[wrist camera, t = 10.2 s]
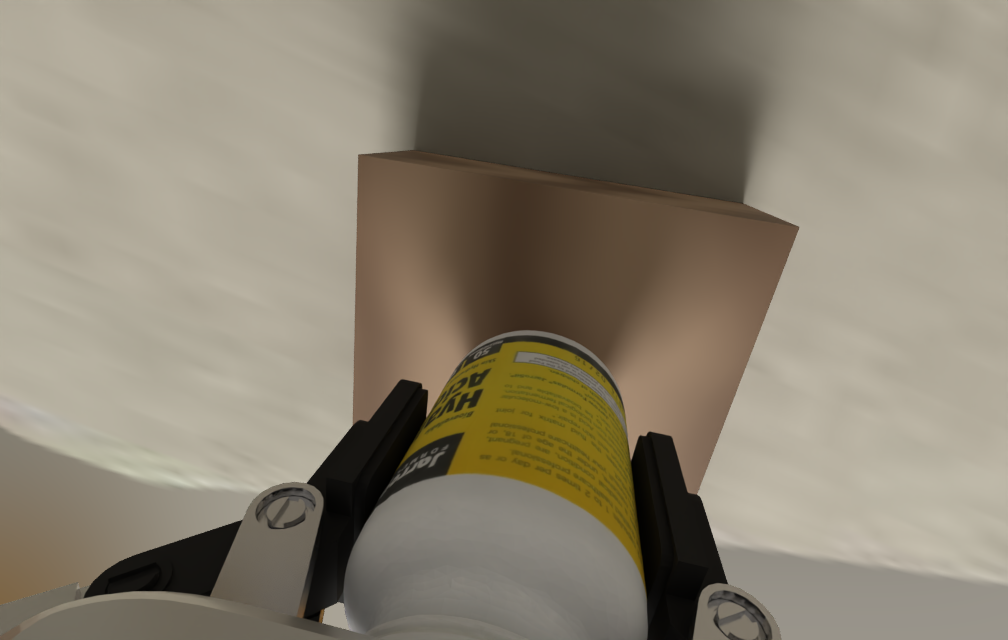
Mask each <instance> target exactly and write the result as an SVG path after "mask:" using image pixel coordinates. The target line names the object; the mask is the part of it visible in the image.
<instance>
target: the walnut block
mask: <svg viewBox="0 0 1008 640" xmlns="http://www.w3.org/2000/svg"><path fill="white" fill-rule="evenodd" d="M798 230H799V227H798V226H796V225H793V224H791V223H788V222H786V221H784V220H781V219H779V218H777V217H774V216H772V215H769V214H767V213H765V212H762V211H760V210H758V209H755V208H753V207H750V206H748V205H746V204H743V203H737V202H730V201H724V200H718V199H712V198H706V197H699V196H693V195H687V194H681V193H675V192H669V191H662V190H656V189H650V188H644V187H638V186H631V185H625V184H619V183H613V182H607V181H600V180H594V179H588V178H582V177H576V176H569V175H563V174H557V173H551V172H545V171H539V170H532V169H526V168H520V167H514V166H508V165H501V164H495V163H489V162H483V161H477V160H470V159H464V158H458V157H452V156H446V155H440V154H433V153H427V152H421V151H415V150H410V151H398V152H385V153H373V154H361V155H358V198H357V246H356V294H355V342H354V390H353V425H354V424H355V423H356V422H357V421H358V420H364V421H369V420H370V419H371V417H372V416H373V415H374V414H375V412H376V411H377V410H378V408H379V407H380V406H381V404H382V403H383V402H384V400H385V399H386V398H387V396H388V395H389V394H390V392H391V391H392V390H393V389H394V387H395V386H396V385H397V383H398V382H399V381H400V380H401V379H405V380H409V381H414V382H419V383H422V387H423V388H422V389H426V390H428V404H427V415H426V418H427V416H428V415H429V413H430V411H431V410H432V408H433V406H434V404H435V402H436V401H437V399H438V397H439V396H440V394H441V392H442V390H443V388H444V387H445V385H446V384H447V382H448V380H449V378H450V377H451V375H452V374H453V372H454V370H455V369H456V367H457V366H458V365H459V363H460V362H461V361H462V360H463V358H464V357H465V356H466V355H467V354H468V353H469V352H471V351H472V350H473V349H474V348H475V347H477V346H478V345H480V344H481V343H483V342H484V341H486V340H488V339H490V338H493V337H495V336H498V335H501V334H504V333H508V332H513V331H523V330H531V331H542V332H548V333H553V334H556V335H560V336H563V337H565V338H568V339H570V340H572V341H575V342H577V343H579V344H581V345H582V346H584V347H585V348H587V349H588V350H589V351H591V352H592V353H593V354H594V355H596V356H597V357H598V358H599V359H600V360H601V361H602V362H603V364H604V365H605V366H606V367H607V368H608V370H609V371H610V373H611V374H612V376H613V377H614V379H615V381H616V383H617V385H618V387H619V390H620V393H621V395H622V400H623V405H624V410H625V416H626V423H627V432H628V442H629V450H630V458H631V459H632V456H633V453H634V450H635V446H636V443H637V440H638V437H639V436H640V435H642V436H646V435H647V433H648V432H649V431H650V432H655V433H660V434H665V435H669V436H672V438H673V442H674V445H675V449H676V452H677V456H678V459H679V463H680V466H681V470H682V474H683V477H684V481H685V484H686V488H687V491H688V493H692V494H696V495H697V493H698V490H699V487H700V485H701V482H702V480H703V477H704V474H705V472H706V469H707V467H708V464H709V461H710V459H711V456H712V454H713V451H714V448H715V446H716V443H717V441H718V438H719V435H720V433H721V430H722V428H723V425H724V422H725V420H726V417H727V415H728V412H729V409H730V407H731V404H732V402H733V399H734V396H735V394H736V391H737V389H738V386H739V383H740V381H741V378H742V375H743V373H744V370H745V368H746V365H747V362H748V360H749V357H750V355H751V352H752V349H753V347H754V344H755V342H756V339H757V336H758V334H759V331H760V329H761V326H762V323H763V321H764V318H765V316H766V313H767V310H768V308H769V305H770V303H771V300H772V297H773V295H774V292H775V290H776V287H777V284H778V282H779V279H780V277H781V274H782V271H783V269H784V266H785V264H786V261H787V258H788V256H789V253H790V251H791V248H792V245H793V243H794V240H795V238H796V235H797V232H798Z"/></svg>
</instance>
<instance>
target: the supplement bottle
mask: <svg viewBox="0 0 1008 640" xmlns="http://www.w3.org/2000/svg"><path fill="white" fill-rule="evenodd" d="M344 606H345V614H346V617H347V621H348V626H349V628H350V631H353V632H357V633H361V634H365V635H368V636H372V637H376V638H380V639H384V640H647V636H648V618H647V595H646V586H645V577H644V569H643V560H642V553H641V545H640V536H639V527H638V519H637V510H636V502H635V493H634V484H633V476H632V467H631V458H630V450H629V442H628V432H627V423H626V416H625V410H624V405H623V400H622V395H621V393H620V390H619V387H618V385H617V383H616V381H615V379H614V377H613V376H612V374H611V373H610V371H609V370H608V368H607V367H606V366H605V365H604V364H603V362H602V361H601V360H600V359H599V358H598V357H597V356H596V355H594V354H593V353H592V352H591V351H589V350H588V349H587V348H585V347H584V346H582V345H581V344H579V343H577V342H575V341H572V340H570V339H568V338H565V337H563V336H560V335H556V334H553V333H548V332H542V331H531V330H523V331H513V332H508V333H504V334H501V335H498V336H495V337H493V338H490V339H488V340H486V341H484V342H483V343H481V344H480V345H478V346H477V347H475V348H474V349H473V350H472V351H471V352H469V353H468V354H467V355H466V356H465V357H464V358H463V360H462V361H461V362H460V363H459V365H458V366H457V367H456V369H455V370H454V372H453V374H452V375H451V377H450V378H449V380H448V382H447V384H446V385H445V387H444V388H443V390H442V392H441V394H440V396H439V397H438V399H437V401H436V402H435V404H434V406H433V408H432V410H431V411H430V413H429V415H428V416H427V418H426V419H425V421H424V423H423V424H422V426H421V428H420V430H419V432H418V433H417V435H416V437H415V439H414V440H413V442H412V444H411V445H410V447H409V449H408V450H407V452H406V454H405V456H404V457H403V459H402V461H401V463H400V464H399V466H398V468H397V470H396V471H395V473H394V475H393V477H392V478H391V480H390V482H389V483H388V485H387V487H386V488H385V490H384V491H383V493H382V494H381V496H380V498H379V500H378V502H377V503H376V505H375V506H374V508H373V510H372V512H371V513H370V515H369V517H368V519H367V521H366V523H365V524H364V527H363V529H362V531H361V533H360V535H359V537H358V538H357V540H356V542H355V544H354V546H353V548H352V551H351V554H350V557H349V560H348V564H347V568H346V573H345V579H344Z"/></svg>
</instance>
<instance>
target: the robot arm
mask: <svg viewBox="0 0 1008 640" xmlns="http://www.w3.org/2000/svg"><path fill="white" fill-rule="evenodd" d="M422 388H423V387H422V383H419V382H414V381H409V380H405V379H401V380H400V381H399V382H398V383H397V385H396V386H395V387H394V389H393V390H392V391H391V392H390V394H389V395H388V396H387V398H386V399H385V400H384V402H383V403H382V404H381V406H380V407H379V408H378V410H377V411H376V412H375V414H374V415H373V416H372V417H371V419H370V420H369V421H364V420H358V421H357V422H356V423H355V424H354V425H353V426H352V427H351V429H350V430H349V431H348V432H347V434H346V435H345V436H344V437H343V439H342V440H341V441H340V442H339V444H338V445H337V446H336V447H335V449H334V450H333V451H332V452H331V453H330V455H329V456H328V457H327V458H326V460H325V461H324V462H323V463H322V465H321V466H320V467H319V468H318V470H317V471H316V472H315V473H314V475H313V476H312V477H311V478H310V480H309V481H308V482H307V483H299V482H291V483H283V484H279V485H276V486H273V487H271V488H269V489H267V490H265V491H263V492H262V493H260V494H259V495H258V496H257V497H256V498H255V499H254V500H253V501H252V503H251V504H250V506H249V507H248V509H247V511H246V514H245V516H244V518H243V520H241V521H237V522H234V523H232V524H228V525H225V526H222V527H219V528H216V529H213V530H210V531H207V532H204V533H201V534H198V535H195V536H192V537H189V538H186V539H182V540H179V541H177V542H174V543H170V544H167V545H164V546H161V547H158V548H155V549H152V550H149V551H146V552H143V553H140V554H137V555H134V556H132V557H129V558H127V559H124V560H122V561H120V562H118V563H116V564H115V565H113V566H112V567H110V568H108V569H107V570H105V571H104V572H103V573H102V574H101V575H100V576H99V577H98V578H97V579H95V580H94V581H93V583H92V584H91V585H90V586H87V587H83V588H79V585H78V582H77V583H73V584H70V585H67V586H63V587H60V588H56V589H53V590H50V591H46V592H43V593H40V594H37V595H33V596H30V597H26V598H23V599H20V600H17V601H13V602H10V603H6V604H3V605H0V640H384V639H380V638H376V637H372V636H368V635H365V634H361V633H357V632H353V631H349V630H346V629H342V628H338V627H334V626H330V625H326V624H323V623H322V622H323V616H324V609H325V608H327V607H329V606H331V605H334V604H336V603H337V602H340V603H344V579H345V573H346V568H347V564H348V560H349V557H350V554H351V551H352V548H353V546H354V544H355V542H356V540H357V538H358V537H359V535H360V533H361V531H362V529H363V527H364V524H365V523H366V521H367V519H368V517H369V515H370V513H371V512H372V510H373V508H374V506H375V505H376V503H377V502H378V500H379V498H380V496H381V494H382V493H383V491H384V490H385V488H386V487H387V485H388V483H389V482H390V480H391V478H392V477H393V475H394V473H395V471H396V470H397V468H398V466H399V464H400V463H401V461H402V459H403V457H404V456H405V454H406V452H407V450H408V449H409V447H410V445H411V444H412V442H413V440H414V439H415V437H416V435H417V433H418V432H419V430H420V428H421V426H422V424H423V423H424V421H425V419H426V415H427V404H428V390H426V389H422ZM631 467H632V476H633V484H634V493H635V502H636V510H637V519H638V527H639V536H640V545H641V553H642V560H643V569H644V577H645V586H646V595H647V618H648V636H647V640H781V634H780V630H779V627H778V625H777V623H776V621H775V620H774V618H773V616H772V615H771V614H770V612H769V611H768V610H767V609H766V608H765V606H764V605H763V604H761V603H760V602H759V601H758V600H757V599H756V598H754V597H753V596H752V595H750V594H748V593H747V592H745V591H743V590H742V589H740V588H737V587H734V586H732V585H729V584H728V583H727V580H726V576H725V574H724V570H723V567H722V564H721V560H720V557H719V554H718V551H717V548H716V544H715V541H714V538H713V535H712V532H711V528H710V525H709V522H708V519H707V516H706V512H705V509H704V506H703V503H702V500H701V498H700V497H699V496H698V495H696V494H692V493H688V491H687V488H686V484H685V481H684V477H683V474H682V470H681V466H680V463H679V459H678V456H677V452H676V449H675V445H674V442H673V438H672V436H669V435H665V434H660V433H655V432H650V431H649V432H648V433H647V435H646V436H642V435H640V436H639V437H638V440H637V443H636V446H635V450H634V453H633V456H632V459H631Z"/></svg>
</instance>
